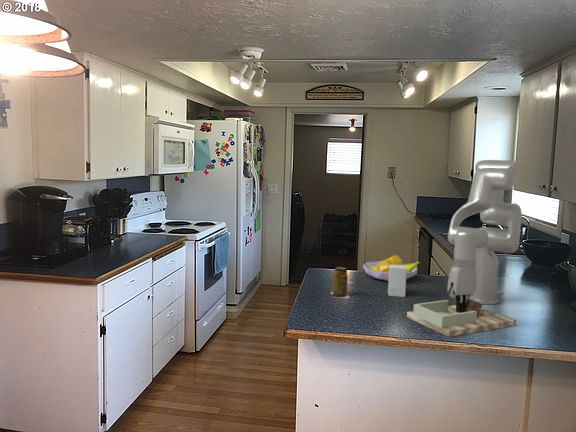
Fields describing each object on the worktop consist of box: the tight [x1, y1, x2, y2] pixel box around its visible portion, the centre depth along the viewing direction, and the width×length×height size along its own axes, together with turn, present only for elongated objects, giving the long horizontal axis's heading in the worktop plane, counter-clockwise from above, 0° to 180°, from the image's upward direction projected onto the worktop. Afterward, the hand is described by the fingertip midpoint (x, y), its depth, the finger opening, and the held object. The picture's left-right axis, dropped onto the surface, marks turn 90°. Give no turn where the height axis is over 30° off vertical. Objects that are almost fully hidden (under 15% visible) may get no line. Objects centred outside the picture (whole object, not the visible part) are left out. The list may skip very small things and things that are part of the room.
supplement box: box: [387, 265, 407, 298], centre depth 215 cm, size 7×7×13 cm
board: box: [406, 304, 517, 338], centre depth 181 cm, size 32×22×2 cm
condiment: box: [330, 266, 350, 299], centre depth 210 cm, size 7×8×12 cm
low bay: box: [412, 299, 477, 328], centre depth 177 cm, size 16×15×4 cm
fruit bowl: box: [362, 254, 420, 282], centre depth 243 cm, size 28×27×11 cm
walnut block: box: [465, 299, 484, 317], centre depth 182 cm, size 5×5×5 cm
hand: (460, 312), depth 181 cm, fingers closed
